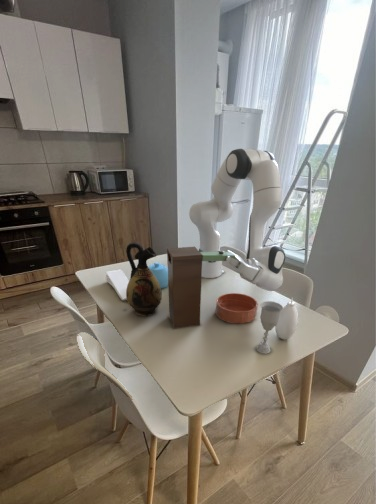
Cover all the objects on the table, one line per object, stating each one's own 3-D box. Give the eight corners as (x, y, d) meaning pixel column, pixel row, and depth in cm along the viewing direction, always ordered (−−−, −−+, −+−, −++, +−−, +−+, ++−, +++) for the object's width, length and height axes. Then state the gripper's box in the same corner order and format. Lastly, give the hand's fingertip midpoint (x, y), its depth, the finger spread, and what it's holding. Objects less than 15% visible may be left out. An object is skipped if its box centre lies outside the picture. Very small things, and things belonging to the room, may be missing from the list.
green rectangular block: (199, 257, 111) (199, 249, 109) (230, 257, 114) (231, 249, 113) (202, 261, 107) (203, 253, 106) (234, 261, 111) (235, 253, 109)
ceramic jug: (166, 304, 134) (164, 239, 117) (156, 321, 122) (152, 251, 105) (132, 300, 137) (125, 236, 121) (119, 316, 125) (109, 247, 108)
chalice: (249, 349, 106) (256, 306, 96) (259, 341, 110) (267, 299, 100) (267, 357, 102) (276, 313, 92) (276, 349, 106) (286, 306, 96)
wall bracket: (139, 308, 142) (121, 281, 160) (142, 295, 138) (123, 269, 157) (120, 308, 137) (103, 280, 155) (122, 295, 133) (105, 268, 151)
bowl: (210, 307, 133) (211, 295, 129) (245, 303, 136) (247, 291, 133) (223, 326, 118) (225, 314, 115) (262, 321, 122) (264, 309, 119)
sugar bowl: (177, 285, 152) (177, 264, 145) (152, 292, 145) (150, 270, 138) (163, 276, 162) (162, 256, 156) (139, 282, 155) (137, 261, 149)
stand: (169, 316, 125) (166, 248, 109) (193, 313, 128) (194, 246, 111) (173, 328, 117) (172, 256, 101) (199, 324, 120) (202, 254, 103)
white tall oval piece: (291, 346, 108) (302, 303, 98) (270, 340, 111) (279, 298, 101) (295, 335, 113) (306, 294, 103) (275, 330, 116) (284, 289, 106)
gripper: (244, 254, 124) (218, 240, 118) (266, 272, 108) (238, 256, 101) (235, 267, 127) (210, 254, 120) (256, 286, 110) (228, 271, 104)
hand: (223, 255), depth 111 cm, fingers closed on green rectangular block, 4 cm apart
